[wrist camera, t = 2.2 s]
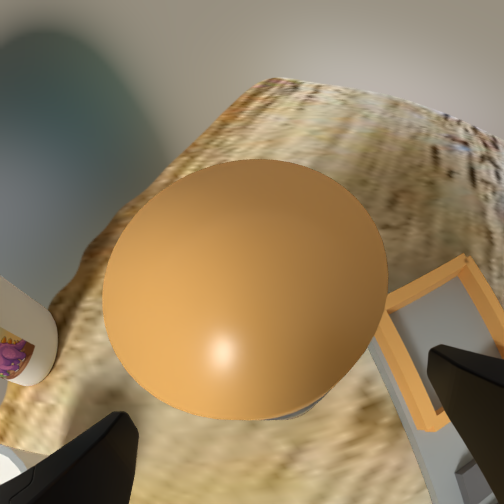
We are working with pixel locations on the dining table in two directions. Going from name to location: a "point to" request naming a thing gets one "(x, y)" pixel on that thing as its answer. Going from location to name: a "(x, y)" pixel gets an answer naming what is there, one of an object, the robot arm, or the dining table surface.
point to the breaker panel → (415, 368)
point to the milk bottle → (25, 337)
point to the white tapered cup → (16, 462)
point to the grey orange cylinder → (245, 290)
